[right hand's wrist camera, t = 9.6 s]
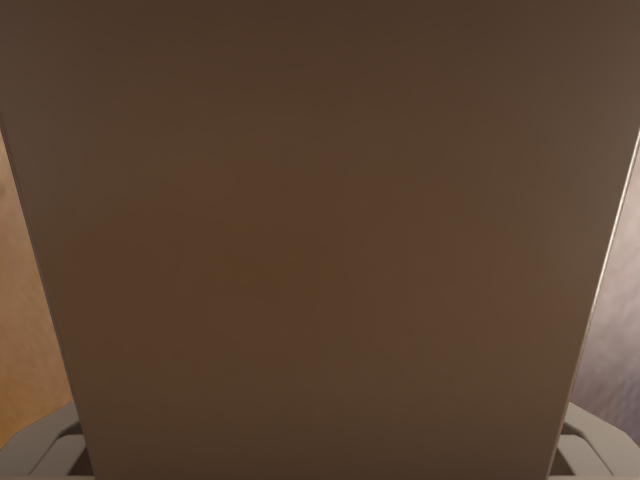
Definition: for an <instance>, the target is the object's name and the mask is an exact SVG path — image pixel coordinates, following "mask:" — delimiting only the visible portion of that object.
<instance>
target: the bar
mask: <svg viewBox="0 0 640 480" xmlns="http://www.w3.org/2000/svg"><path fill="white" fill-rule="evenodd" d="M0 129H1V133H2V137H3V140H4V144H5V148H6V151H7V155H8V159H9V162H10V166H11V170H12V173H13V177H14V181H15V185H16V188H17V192H18V196H19V199H20V203H21V207H22V210H23V214H24V218H25V222H26V225H27V229H28V233H29V236H30V240H31V244H32V247H33V251H34V255H35V258H36V262H37V266H38V270H39V273H40V277H41V281H42V284H43V288H44V292H45V295H46V299H47V303H48V307H49V310H50V314H51V318H52V321H53V325H54V329H55V332H56V336H57V340H58V343H59V347H60V351H61V355H62V358H63V362H64V366H65V369H66V373H67V377H68V380H69V384H70V388H71V391H72V395H73V399H74V403H75V406H76V410H77V414H78V417H79V421H80V425H81V428H82V432H83V436H84V440H85V443H86V447H87V451H88V454H89V458H90V462H91V465H92V469H93V473H94V476H95V480H548V478H549V474H550V471H551V467H552V463H553V460H554V456H555V452H556V449H557V445H558V442H559V438H560V434H561V431H562V427H563V423H564V420H565V416H566V412H567V409H568V405H569V401H570V398H571V394H572V390H573V387H574V383H575V380H576V376H577V372H578V369H579V365H580V361H581V358H582V354H583V350H584V347H585V343H586V339H587V336H588V332H589V329H590V325H591V321H592V318H593V314H594V310H595V307H596V303H597V299H598V296H599V292H600V288H601V285H602V281H603V278H604V274H605V270H606V267H607V263H608V259H609V256H610V252H611V248H612V245H613V241H614V237H615V234H616V230H617V226H618V223H619V219H620V216H621V212H622V208H623V205H624V201H625V197H626V194H627V190H628V186H629V183H630V179H631V175H632V172H633V168H634V165H635V161H636V157H637V154H638V150H639V146H640V0H0Z"/></svg>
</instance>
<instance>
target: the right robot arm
mask: <svg viewBox="0 0 640 480" xmlns="http://www.w3.org/2000/svg"><path fill="white" fill-rule="evenodd" d="M0 480H95V476H94V473H93V469H92V465H91V462H90V458H89V454H88V451H87V447H86V443H85V440H84V436H83V432H82V428H81V425H80V421H79V417H78V414H77V410H76V406H75V403H74V401H72V402H70V403H69V404H67V405H65V406H63V407H61V408H60V409H58V410H56V411H54V412H53V413H51V414H49V415H47V416H45V417H44V418H42V419H40V420H38V421H36V422H35V423H33V424H31V425H29V426H27V427H26V428H24V429H22V430H20V431H19V432H17V433H16V434H15V435H14V436H13V437H12V438H11V439H10V440H9V441H8V442H7V444H6V445H5V446H4V447H3V448H2V449H1V450H0ZM548 480H640V448H639V447H638V446H637V444H636V443H635V442H634V441H633V440H632V439H631V438H630V437H629V436H628V434H627V433H625V432H623V431H621V430H620V429H618V428H616V427H614V426H612V425H611V424H609V423H607V422H605V421H603V420H602V419H600V418H598V417H596V416H594V415H593V414H591V413H589V412H587V411H585V410H584V409H582V408H580V407H578V406H577V405H575V404H573V403H571V402H569V405H568V409H567V412H566V416H565V420H564V423H563V427H562V431H561V434H560V438H559V442H558V445H557V449H556V452H555V456H554V460H553V463H552V467H551V471H550V474H549V478H548Z"/></svg>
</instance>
